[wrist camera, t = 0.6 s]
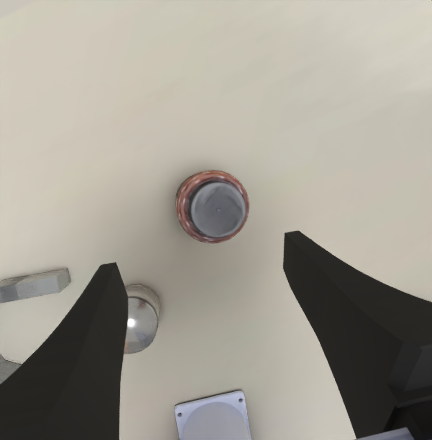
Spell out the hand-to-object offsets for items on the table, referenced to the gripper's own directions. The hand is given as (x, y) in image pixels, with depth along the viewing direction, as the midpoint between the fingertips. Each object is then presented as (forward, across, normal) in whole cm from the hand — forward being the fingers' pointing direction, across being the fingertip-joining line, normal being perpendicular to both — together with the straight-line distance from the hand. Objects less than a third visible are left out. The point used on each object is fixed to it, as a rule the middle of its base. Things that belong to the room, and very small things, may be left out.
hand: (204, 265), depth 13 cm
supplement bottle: (+19, -2, +8) cm, 21 cm away
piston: (+14, +7, +17) cm, 23 cm away
